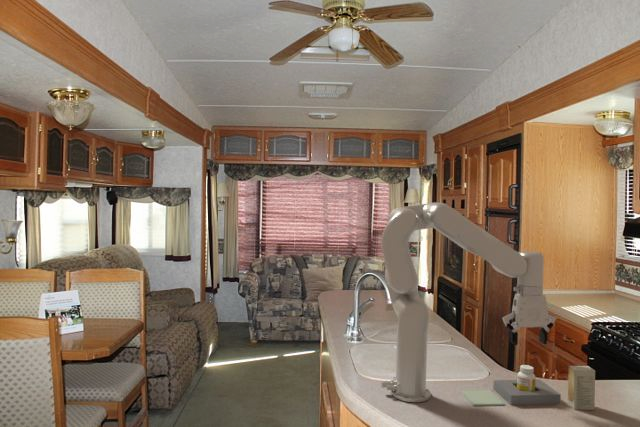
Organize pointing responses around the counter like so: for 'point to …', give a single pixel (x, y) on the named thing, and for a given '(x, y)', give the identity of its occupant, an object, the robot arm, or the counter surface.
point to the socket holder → (526, 393)
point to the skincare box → (581, 388)
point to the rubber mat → (482, 398)
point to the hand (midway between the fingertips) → (528, 343)
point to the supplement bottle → (526, 378)
